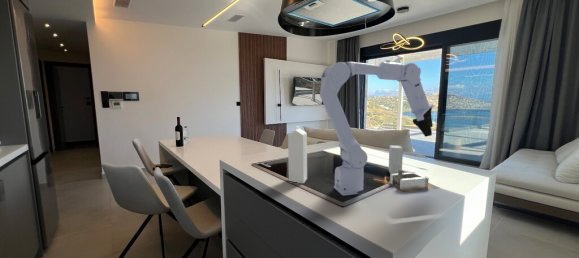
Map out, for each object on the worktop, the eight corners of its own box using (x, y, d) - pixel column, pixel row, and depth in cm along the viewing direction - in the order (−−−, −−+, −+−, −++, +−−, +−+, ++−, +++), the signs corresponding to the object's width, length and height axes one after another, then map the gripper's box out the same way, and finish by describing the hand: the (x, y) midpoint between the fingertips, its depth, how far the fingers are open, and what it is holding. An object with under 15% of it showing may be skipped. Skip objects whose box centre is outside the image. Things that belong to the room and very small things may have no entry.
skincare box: (402, 177, 100) (403, 148, 99) (390, 176, 101) (392, 148, 100) (398, 172, 106) (399, 145, 105) (388, 172, 107) (389, 145, 105)
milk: (288, 182, 96) (287, 126, 94) (293, 177, 102) (292, 124, 99) (303, 183, 95) (302, 126, 92) (307, 178, 100) (306, 124, 97)
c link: (414, 181, 92) (414, 172, 92) (428, 187, 86) (428, 177, 85) (390, 183, 90) (390, 174, 90) (402, 190, 83) (402, 180, 83)
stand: (402, 194, 83) (403, 174, 82) (387, 185, 91) (387, 167, 90) (440, 190, 85) (441, 171, 85) (421, 182, 94) (422, 164, 93)
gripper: (427, 99, 78) (441, 137, 80) (429, 87, 89) (441, 120, 92) (404, 106, 82) (418, 141, 85) (409, 93, 94) (421, 125, 96)
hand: (429, 131), depth 88 cm, fingers open, 7 cm apart
